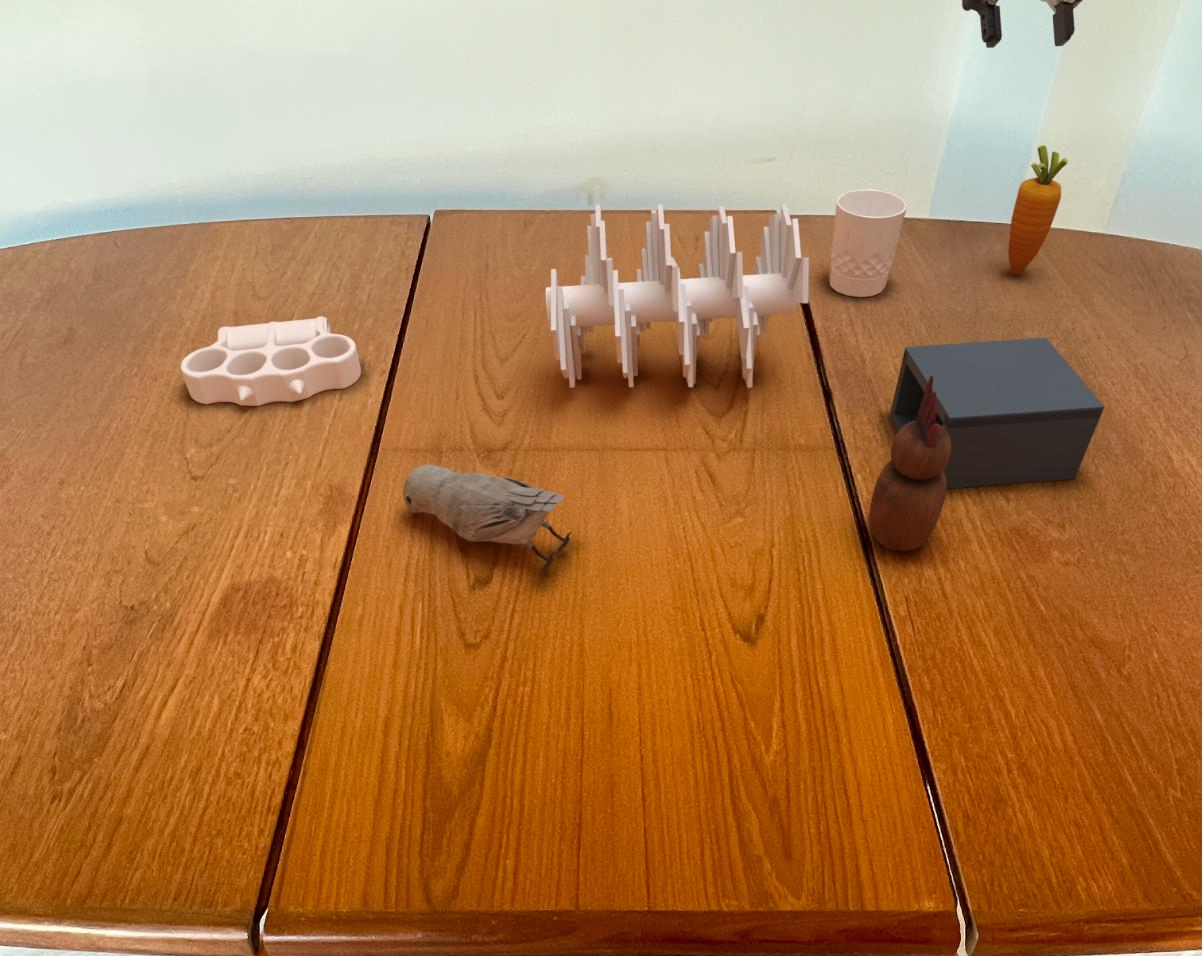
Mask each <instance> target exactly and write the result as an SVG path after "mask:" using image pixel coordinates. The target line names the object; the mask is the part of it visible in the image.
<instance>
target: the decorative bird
mask: <svg viewBox="0 0 1202 956" xmlns="http://www.w3.org/2000/svg"><path fill="white" fill-rule="evenodd" d="M402 496H403V501H404V502H405V506H406V509H408V511H409V512H410V513H411V514H412V515H416V514H421V513H428V514H431V515H435V516H436V517H437V519H438V520H439V521H441V522H442V523H443V524H444V525H447V526H448V527H449V528H450V529H452V530H453V531H454V532H455V533H456V535H458V536H459V537H461V538H462V539H464V540H465V541H467V542H473V543H477V542H490V543H491V542H492V543H498V544H511V545H517V546H519V545H524V546H525V547H527V548H529V549H531V550H532V551H533V552H534V554H535V555H537V557H539V558H541V559H542V560H543V561H545V562H546V563H545V564H544V565H543V566H542V568H541V569H540V572H539V576H540V578H542V574H543V571H544V573H545V574H546V573H547V568H548V567H550V565H552V564H553V561H554V560H555V558H554V557H553V556H554V555H555V553H556V558H558V556H559V552H560V553H561V554H563V548H565V547H566V546H567V545H569V542H570V541H571V539H570V535H571V534H573V532H572V531H571V532H568V533H567V534H566V536H565V538H564V537H563V536H561V535H560V534H558V533H557V532H556V531H555V530H554V529H553V526H551V524H550V523H549V522H548V520H547V519H546V518H547V516H548V514H549V513H550V512H553V511H554V510H555V509H556V507H557V504H558V503H561V502H563V500H564V499H565V497H566V496H567V494H563V493H562V494H561V493H557V491H548V490H545V488H536V487H532V486H531V485H529V484H527V483H526V482H524V481H522V480H520V479H516V478H512V477H504V476H503V477H502V476H496V475H492V474H489V473H484V472H483V473H481V472H460V471H455V470H452V469H449V468H447V467H444V466H440V465H436V464H422V465H420V466H417V467H415V468H413V469H412V471H411V472H410V473H409V474H408V476H407V477H406V479H405V481H404V484H403V492H402ZM541 527H543V528H545V529H548V530H549V532H550V534H551V535H552V536H554V537H555V538H557V539H558V540H560V542H562V543H561V544H560V546H559V547H558V548H557V551H553V552H552V553H550V554H549V556H548V557H547V556H546V555H544V554H543V553H541V552H540V551H539V550H538V548H537V547H536V546H535V545H534V542H533V541H531V539H532V538H534V536H536V534H537V533H538V531H539V530H540V529H541Z"/></svg>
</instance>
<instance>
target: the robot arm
mask: <svg viewBox="0 0 1202 956" xmlns="http://www.w3.org/2000/svg"><path fill="white" fill-rule="evenodd" d="M1083 1H1084V0H1040V2H1043V3H1044V2H1045V3H1046V4H1047V5H1048V7H1049V8H1050V9H1051V10H1052V11H1053V14H1052V28H1053V29H1052V30H1053V41H1054V47H1063V46H1064V45H1066V43H1068V42H1069V41H1070V40H1071V39H1072V36H1073V35H1074V33H1075V30H1076V28H1075V14H1074V9H1076V8H1077V7H1078V6H1079V5H1080V4H1081V3H1082V2H1083ZM998 2H999V0H961V7H962V9H963V11H965V12H969V11H975V12H976V13H977V15H978V16H979V19H980V20H979V21H980V33H981V36H980V37H981V40H982V42H983V43H984V44H985V47H986V49H993V48H995V47H996V46H997V45H998V44H999V43H1000V42H1001V40H1002V39H1003V30H1002V18H1001V6H1000V5H997V3H998Z"/></svg>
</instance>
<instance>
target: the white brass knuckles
mask: <svg viewBox="0 0 1202 956" xmlns="http://www.w3.org/2000/svg"><path fill="white" fill-rule="evenodd" d="M180 372H181V374H182V377H183V380H184V383H185V385H186V389H187V391H188V393H189V396H190V397H191V399H192V400H194V401H195V402H197V403H200V404H202V405H210V404H215V403H234V404H237V405H238V406H242V407H243V406H244V407H250V406H251V407H260V406H262V405H266V404H269V403H270V404H271V403H276V402H287V403H293V402H298V401H303V400H306V399H309V398H311V397H313V396H314V395H316V394H319V393H322V392H325V391H329V390H330V391H331V390H344V389H346V388H349V387H351V386H352V385H354V384H356V383H357V382H358V380H359V379H360V377H361V375H362V368H361V363H360V359H359V354H358V348H357V344H356V342H355V341H354V340H353V339H352V338H351V337H349V336H347V335H343V334H339V333H331V326H330V321H329V317H325V316H317V317H316V318H308V319H297V320H287V321H269V322H267V323H266V322H265V323H257V324H247V325H237V326H221V327H220V328H218V331H217V341H215V342H214V343H213V344H211V345H210V346H206V347H203V348H198V349H197V350H193V352H191V353H189V354H187V356H185V357H184V358H183V360H182V361H181V363H180Z"/></svg>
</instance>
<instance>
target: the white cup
mask: <svg viewBox="0 0 1202 956" xmlns="http://www.w3.org/2000/svg"><path fill="white" fill-rule="evenodd" d="M907 208H908V205H907V202H906V201H905V200H904V199H903V198H902V197H900V196H899V195H897V194H894V193H892V192H888V191H884V190H879V189H869V188H866V189H865V188H864V189H862V188H861V189H855V190H849V191H846V192H843V193H842V194H840V195H838V197H837V199H836V203H835V212H834V213H835V214H834V223H833V230H832V240H831V250H830V269H829V277H828V282H829V286H830V287H831V289H833V290H834V291H835V292H837V293H839V294H842V295H844V296H847V297H855V298H866V297H867V298H868V297H873V296H876V295H879V294H881V293H882V292H883V291H884V289H885V288H886V287H887V281H888V278H889V275H890V270H891V267H892V264H893V262H894V256H895V254H896V251H897V247H898V244H899V240H900V236H901V232H902V227H903V224H904V219H905V217H906V212H907Z"/></svg>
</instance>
